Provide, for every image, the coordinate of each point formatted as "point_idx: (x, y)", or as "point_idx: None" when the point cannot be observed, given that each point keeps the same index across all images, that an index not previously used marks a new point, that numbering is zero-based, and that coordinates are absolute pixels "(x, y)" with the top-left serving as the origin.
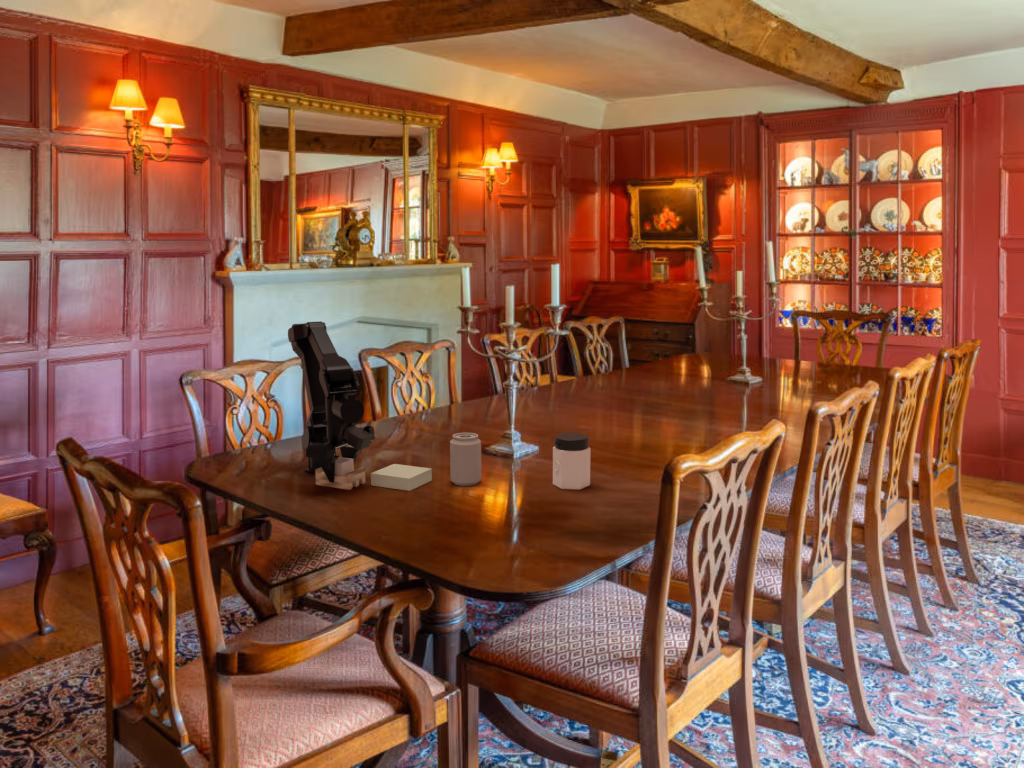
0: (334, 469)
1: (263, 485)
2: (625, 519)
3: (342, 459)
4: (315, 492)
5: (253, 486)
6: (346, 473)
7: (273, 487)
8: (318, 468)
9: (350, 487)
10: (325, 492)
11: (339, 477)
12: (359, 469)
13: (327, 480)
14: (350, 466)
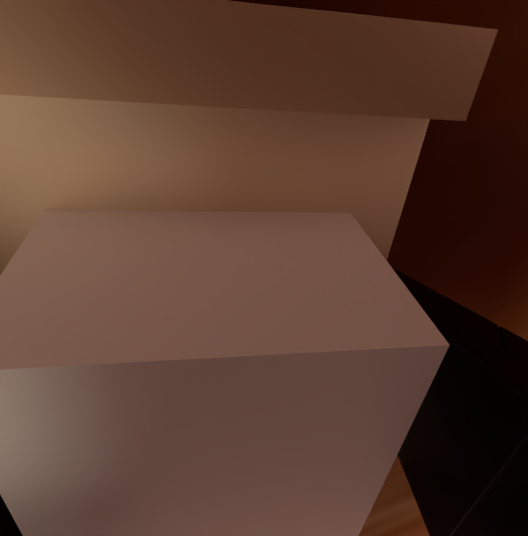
0: (457, 329)
1: (382, 514)
2: None
3: (166, 479)
4: (489, 267)
5: (404, 524)
6: (444, 115)
7: (406, 478)
8: None
9: (360, 14)
10: (487, 200)
11: (391, 211)
12: (67, 22)
13: None
14: (126, 259)
